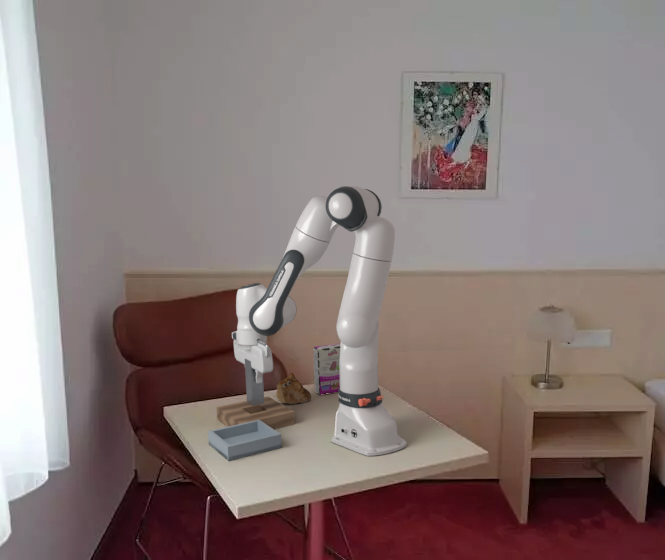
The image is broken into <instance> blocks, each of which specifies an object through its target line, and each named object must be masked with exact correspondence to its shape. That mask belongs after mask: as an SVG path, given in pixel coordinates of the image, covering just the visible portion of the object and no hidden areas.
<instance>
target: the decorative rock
mask: <svg viewBox="0 0 665 560" xmlns="http://www.w3.org/2000/svg"><path fill="white" fill-rule="evenodd" d="M276 389H277V391H276V393H275V395H276V397H277V399H278V402H279V403H281V404H286V405H287V404H289V405H290V404H291V405H292V404H298V403H307V402H308V401H309V402H310V401H311V399H312V394H311V393H310V391H309V390H308V389H307V388H305V387H304V386H303V384H302V383H301V382H300V380H298V379H297V378H296V377H295V375H294V373H293V372H291V373H290V374H288V376H287V377H284V378H283V379H281V380H280V381H279V382H278V384H276Z"/></svg>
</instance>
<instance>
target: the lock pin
mask: <svg viewBox="0 0 665 560" xmlns="http://www.w3.org/2000/svg"><path fill="white" fill-rule="evenodd" d="M244 372H245V375H244V376H245V388H246V389H245V390H246V393H245V394H246V401H247V403H248V404H250V405H252V406H255V405H259V404H264V397H265V392H264V391H265V390H264V385H265V384H264V375H263V376H262V382H261V383H256V382H255V377H256V372H255V369H253V368H252V367H251V361H249V360H247V359H245V364H244Z"/></svg>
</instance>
